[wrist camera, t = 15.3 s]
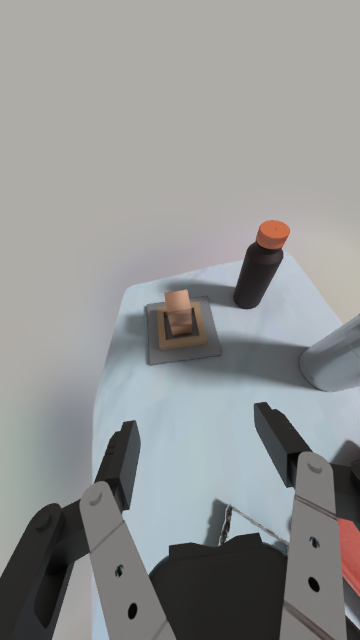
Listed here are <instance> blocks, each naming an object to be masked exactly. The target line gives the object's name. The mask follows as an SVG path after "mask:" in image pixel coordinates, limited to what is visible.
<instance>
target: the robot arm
mask: <svg viewBox="0 0 360 640" xmlns="http://www.w3.org/2000/svg"><path fill="white" fill-rule="evenodd" d="M299 364H300V369H301V372H302V374H303V376H304V377H305V378H306V380H307V381H308V382H309V383H311V384H312V385H313V386H315V387H316V388H318V389H320V390H323V391H327V392H336V391H341V390H345V389H349V388H354V387H358V386H360V314H359V315H357V316H356V317H354V318H353V319H352V320H350V321H349V322H347V323H346V324H344V325H343V326H341V327H340V328H338V329H337V330H335V331H334V332H332V333H331V334H329V335H328V336H326V337H325V338H324V339H322V340H321V341H319V342H318V343H316V344H315V345H313V346H312V347H310V348H309V349H307V350H306V351H304V352H303V354H302V355H301V357H300V361H299ZM254 422H255V427H256V430H257V432H258V434H259V436H260V438H261V440H262V442H263V444H264V446H265V448H266V450H267V452H268V454H269V455H270V457H271V459H272V461H273V463H274V465H275V467H276V469H277V471H278V473H279V475H280V477H281V478H282V480H283V482H284V484H285V486H286V488H288V487H293V488H294V489H295V495H294V502H293V512H292V522H291V533H290V543H289V553H288V555H286V554H285V553H284V552H283V551H281V550H280V549H278V548H276V547H274V546H273V545H270V544H268V543H265V542H262V541H261V537H260V534H259V533H253V534H246V535H239V536H236V537H234V538H232V539H230V540H229V541H227V542H225V543H223V544H222V545H220V546H218V547H215V548H214V547H209V546H204V545H200V544H196V543H184V544H177V545H170V546H169V556H167V557H165V558H164V559H163V560H161V561H160V562H159V563H158V564H157V565H156V566H155V567H154V569H153V570H152V571H151V572H150V574H149V575H148V574H147V572H146V569H145V567H144V565H143V562H142V560H141V558H140V555H139V553H138V551H137V548H136V546H135V544H134V541H133V539H132V537H131V534H130V532H129V529H128V527H127V525H126V523H125V521H124V520H123V518H122V512H123V511H124V510H129V509H130V503H131V498H132V492H133V487H134V481H135V475H136V470H137V464H138V459H139V453H140V446H141V442H140V435H139V431H138V427H137V423H136V421H135V420H133V421H126V422H123V425H122V428H121V431H118V432H115V433H114V435H113V436H112V437H111V439H110V441H109V444H108V446H107V449H106V452H105V456H104V457H103V460H102V463H101V465H100V468H99V471H98V474H97V476H96V479H95V482H94V484H93V485H91V486H90V487H89V488H88V489H87V490H86V491H85V493H84V494H83V496H82V498H81V499H79V500H78V501H76V502H74V503H72V504H70V505H68V506H66V507H64V508H61V507H60V505H59V504H56V503H53V504H49V505H47V506H45V507H44V508H42V509H41V510H40V511H38V512H37V513H36V514H35V516H34V517H33V518H32V520H31V521H30V522H29V524H28V526H27V528H26V530H25V532H24V533H23V535H22V537H21V539H20V541H19V543H18V545H17V547H16V549H15V551H14V553H13V555H12V556H11V558H10V560H9V562H8V564H7V566H6V568H5V570H4V572H3V574H2V576H1V577H0V640H52V637H53V633H54V630H55V627H56V623H57V620H58V616H59V613H60V610H61V606H62V603H63V600H64V596H65V593H66V590H67V586H68V583H69V579H70V576H71V573H72V569H73V566H74V563H75V561H76V560H78V559H79V558H81V557H83V556H85V555H86V554H88V553H90V559H91V564H92V568H93V572H94V576H95V581H96V585H97V589H98V593H99V597H100V602H101V606H102V610H103V614H104V618H105V622H106V627H107V631H108V635H109V639H110V640H360V630H359V629H358V628H357V627H356V625H355V624H354V623H353V622H352V621H351V620H350V619H349V618H348V617H347V616H346V615H345V606H344V593H343V579H342V565H341V552H340V538H339V525H338V518H341V519H345V520H349V521H353V523H354V524H355V526H356V527H357V529H358V531H359V532H360V460H356V461H354V462H353V463H352V466H351V467H347V466H341V465H335V464H331V463H328V462H327V460H325V459H324V458H323V457H322V456H320V455H318V454H316V453H313V451H312V450H311V449H310V448H309V446H308V445H307V444H306V442H305V441H304V440H303V439H302V437H301V436H300V435H299V433H298V432H297V431H296V429H294V427H293V426H292V424H291V423H290V422H289V420H288V419H287V418H286V416H285V415H284V414H283V413H281V412H280V411H278V410H277V409H273V410H272V409H271V408H270V406H269V405H268V404H267V402H261V403H254Z"/></svg>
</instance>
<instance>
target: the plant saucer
mask: <svg viewBox="0 0 360 640" xmlns="http://www.w3.org/2000/svg"><path fill="white" fill-rule="evenodd" d="M338 525H339V538H340V552H341V565H342V576H343V577H344V579H345V580H346V581H347V582H348V583H349V585H350V586H351V587H352V588H353V590H354V591H355V592H356V594H357V595H358V596H359V597H360V532H359V531H358V529H357V527H356V526H355V524H354V523H353V521H349V520H345V519H341V518H338Z"/></svg>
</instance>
